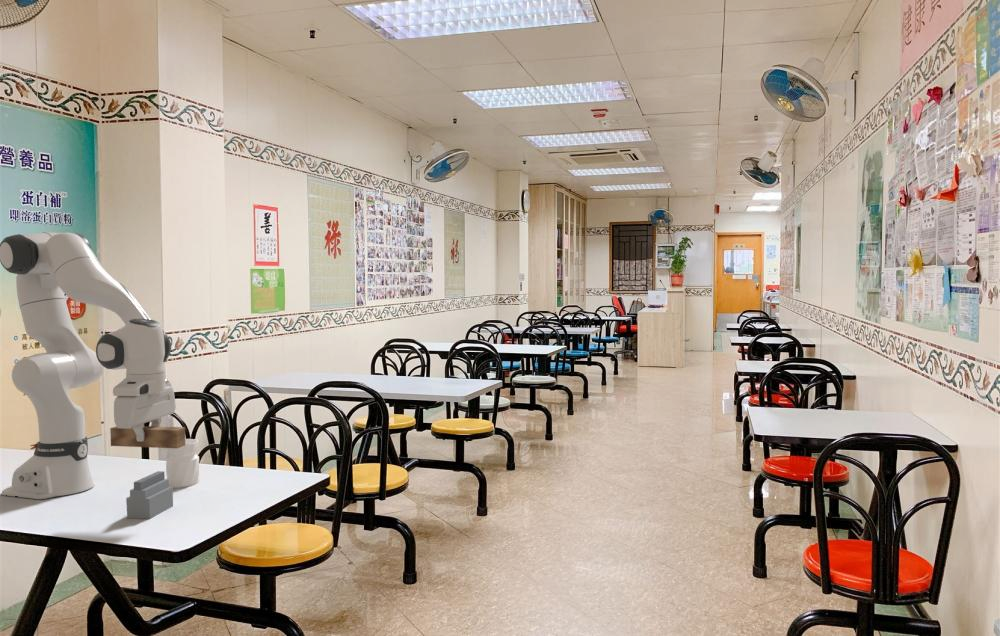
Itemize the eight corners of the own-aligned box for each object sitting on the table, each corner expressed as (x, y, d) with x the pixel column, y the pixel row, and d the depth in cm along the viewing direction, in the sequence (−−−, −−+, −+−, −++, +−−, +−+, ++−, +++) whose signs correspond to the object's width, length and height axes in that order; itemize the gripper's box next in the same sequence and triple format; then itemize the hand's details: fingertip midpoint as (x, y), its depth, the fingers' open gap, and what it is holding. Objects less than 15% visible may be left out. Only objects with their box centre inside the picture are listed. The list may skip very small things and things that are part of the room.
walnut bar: (110, 445, 179) (110, 428, 179) (120, 442, 183) (119, 425, 182) (177, 448, 177) (176, 430, 176) (185, 445, 180) (184, 427, 180)
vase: (191, 477, 212) (189, 437, 212) (205, 482, 206) (204, 441, 206) (161, 483, 206) (159, 442, 205) (175, 489, 200) (173, 447, 199)
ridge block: (127, 518, 176) (125, 481, 175) (151, 505, 186) (150, 471, 185) (149, 518, 175) (148, 482, 175) (173, 505, 185) (171, 471, 185)
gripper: (158, 377, 189) (160, 429, 190) (107, 390, 169) (109, 447, 170) (181, 378, 189) (182, 430, 189) (132, 390, 168) (134, 448, 169)
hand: (147, 438), depth 180 cm, fingers closed on walnut bar, 4 cm apart
